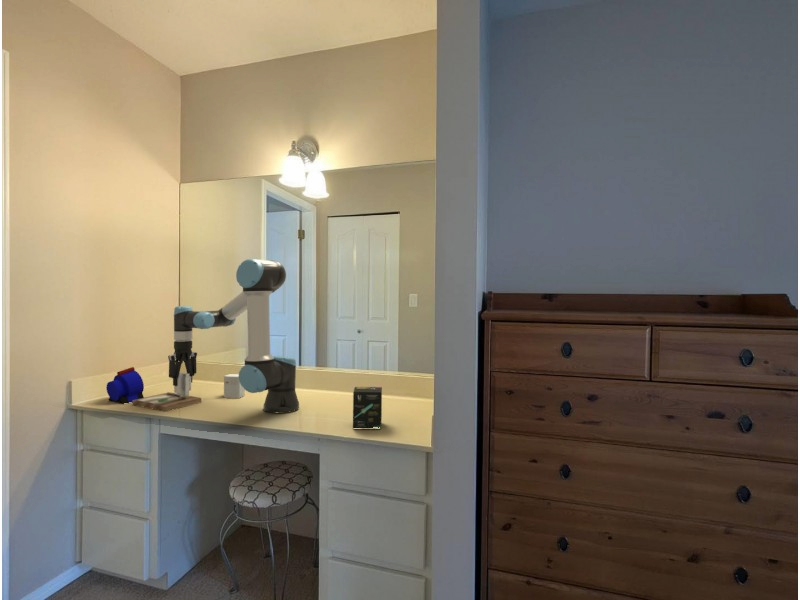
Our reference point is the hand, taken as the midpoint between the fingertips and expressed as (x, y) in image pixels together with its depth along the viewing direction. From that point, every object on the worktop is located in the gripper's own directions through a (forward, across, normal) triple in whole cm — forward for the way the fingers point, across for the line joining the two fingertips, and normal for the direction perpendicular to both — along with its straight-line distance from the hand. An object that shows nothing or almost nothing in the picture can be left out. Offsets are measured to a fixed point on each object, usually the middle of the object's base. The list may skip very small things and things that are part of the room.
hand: (182, 391), depth 205 cm
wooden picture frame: (+5, +4, -5) cm, 8 cm away
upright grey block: (+3, 0, -3) cm, 4 cm away
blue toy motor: (+6, +10, -26) cm, 28 cm away
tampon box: (+6, -11, +90) cm, 91 cm away
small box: (+6, -20, +11) cm, 23 cm away
